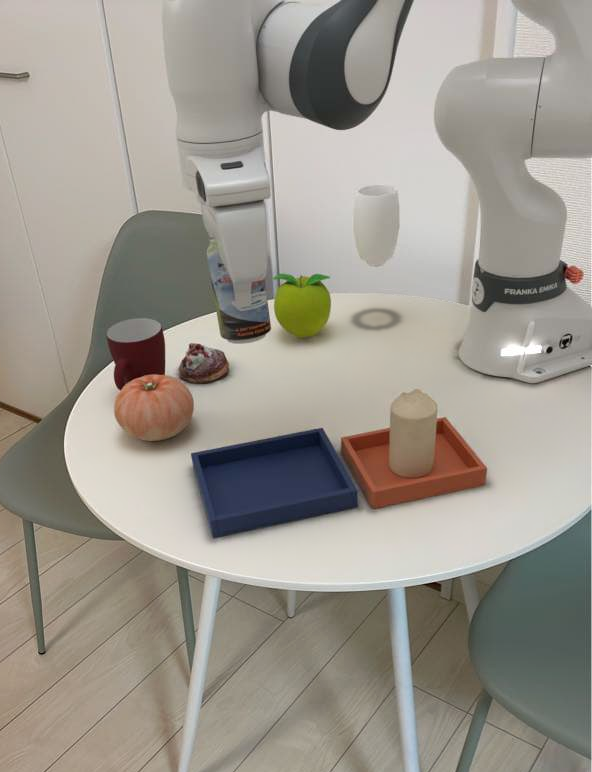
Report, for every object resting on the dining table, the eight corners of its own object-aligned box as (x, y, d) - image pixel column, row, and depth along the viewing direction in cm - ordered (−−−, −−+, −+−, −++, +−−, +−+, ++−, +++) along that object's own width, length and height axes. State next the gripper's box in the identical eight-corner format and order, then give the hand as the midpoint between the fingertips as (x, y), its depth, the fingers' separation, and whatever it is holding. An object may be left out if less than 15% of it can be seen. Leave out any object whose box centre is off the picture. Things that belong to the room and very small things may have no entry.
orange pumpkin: (109, 426, 107) (97, 376, 102) (179, 404, 111) (170, 354, 106) (136, 462, 100) (124, 410, 95) (210, 436, 103) (202, 384, 98)
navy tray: (323, 443, 100) (322, 427, 99) (357, 507, 89) (357, 490, 88) (193, 469, 98) (190, 453, 96) (212, 538, 87) (209, 521, 85)
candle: (383, 474, 93) (385, 403, 87) (395, 450, 97) (397, 381, 91) (427, 481, 91) (432, 410, 85) (438, 457, 95) (443, 386, 89)
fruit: (280, 322, 130) (275, 264, 123) (334, 322, 128) (332, 264, 122) (272, 346, 123) (267, 287, 116) (328, 347, 122) (326, 286, 115)
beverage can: (234, 356, 86) (219, 249, 79) (209, 334, 91) (194, 232, 84) (282, 341, 88) (273, 236, 81) (255, 321, 93) (244, 220, 86)
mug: (156, 415, 109) (142, 352, 102) (105, 412, 110) (88, 349, 104) (181, 380, 116) (170, 319, 110) (132, 377, 118) (119, 316, 112)
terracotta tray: (444, 432, 100) (445, 416, 99) (485, 485, 91) (487, 468, 89) (341, 453, 98) (340, 437, 97) (372, 509, 89) (372, 492, 87)
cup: (366, 331, 125) (367, 200, 111) (347, 316, 130) (344, 188, 117) (405, 321, 127) (409, 191, 113) (383, 306, 132) (386, 180, 118)
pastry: (171, 380, 116) (165, 350, 113) (192, 358, 122) (188, 329, 118) (218, 386, 114) (213, 356, 111) (237, 363, 119) (234, 334, 116)
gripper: (180, 145, 86) (197, 266, 94) (208, 194, 70) (226, 333, 79) (234, 138, 86) (246, 258, 95) (274, 184, 71) (284, 323, 80)
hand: (237, 293), depth 87 cm, fingers closed on beverage can, 5 cm apart
